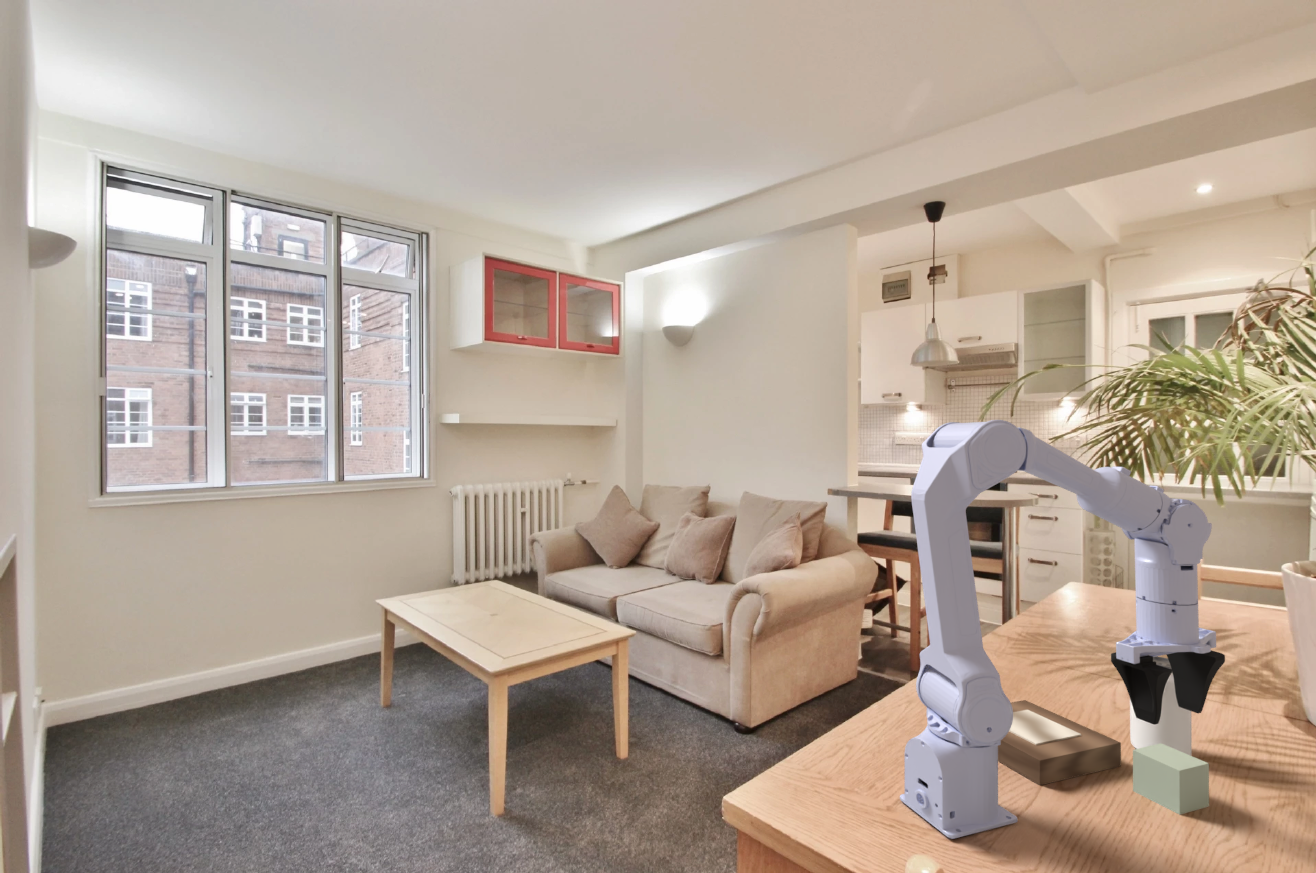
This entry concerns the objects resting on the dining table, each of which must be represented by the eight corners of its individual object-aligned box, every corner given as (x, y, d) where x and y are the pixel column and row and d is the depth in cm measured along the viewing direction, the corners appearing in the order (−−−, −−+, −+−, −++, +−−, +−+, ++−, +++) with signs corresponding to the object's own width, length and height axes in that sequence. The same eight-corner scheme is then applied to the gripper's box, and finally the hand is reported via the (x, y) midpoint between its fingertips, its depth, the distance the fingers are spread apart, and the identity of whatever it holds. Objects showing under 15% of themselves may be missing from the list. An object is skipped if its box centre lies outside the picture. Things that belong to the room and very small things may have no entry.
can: (1131, 735, 89) (1130, 651, 89) (1191, 749, 85) (1190, 661, 85) (1128, 753, 84) (1128, 663, 84) (1192, 769, 80) (1191, 674, 80)
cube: (1179, 815, 70) (1179, 770, 70) (1133, 791, 75) (1132, 749, 75) (1208, 807, 72) (1208, 763, 72) (1161, 784, 76) (1161, 743, 76)
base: (1039, 785, 76) (1039, 758, 76) (951, 734, 89) (951, 711, 89) (1120, 766, 80) (1120, 741, 80) (1025, 720, 94) (1025, 698, 94)
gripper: (1162, 614, 67) (1165, 741, 67) (1246, 600, 72) (1249, 718, 72) (1096, 599, 74) (1099, 714, 74) (1177, 587, 79) (1180, 695, 79)
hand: (1168, 715), depth 73 cm, fingers open, 7 cm apart
